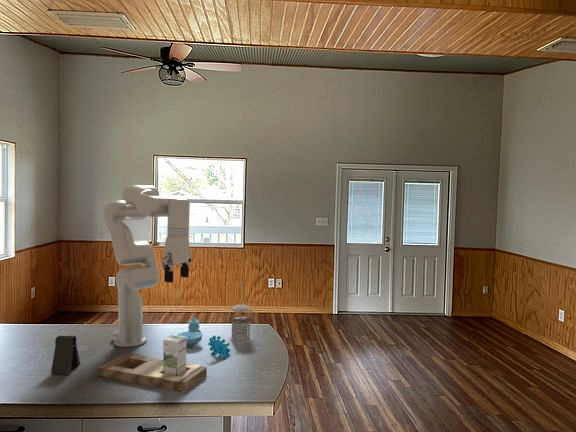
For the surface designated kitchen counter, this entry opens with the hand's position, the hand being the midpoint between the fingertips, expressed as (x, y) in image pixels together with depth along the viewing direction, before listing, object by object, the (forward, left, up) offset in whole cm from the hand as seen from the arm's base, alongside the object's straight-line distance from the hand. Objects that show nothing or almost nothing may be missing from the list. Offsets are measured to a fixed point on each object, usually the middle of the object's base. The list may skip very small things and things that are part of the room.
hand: (176, 279), depth 162 cm
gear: (+10, +15, -32) cm, 37 cm away
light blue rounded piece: (-8, +24, -32) cm, 41 cm away
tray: (-2, -11, -32) cm, 34 cm away
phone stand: (-33, -18, -32) cm, 49 cm away
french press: (+10, +36, -32) cm, 49 cm away
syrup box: (+6, -11, -32) cm, 34 cm away
